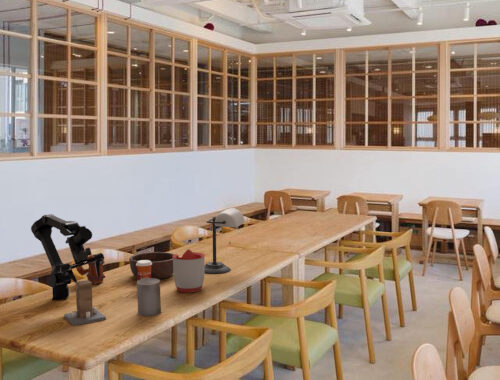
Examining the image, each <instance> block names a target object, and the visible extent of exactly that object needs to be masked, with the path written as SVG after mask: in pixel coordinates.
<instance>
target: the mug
mask: <svg viewBox="0 0 500 380" xmlns="http://www.w3.org/2000/svg"><path fill="white" fill-rule="evenodd" d="M96 254H97V253H95V254H92V255H89V256H88V259H90V258H93V256H94V255H96ZM104 264H105V260H104V261H102V263H101V264H100V265H99V279H98V276H97V273H96V268H95V262H92V263H89V264H87V265H88V268H84V267H83V266H79V267H76V268H75V269H76V271H77V272H78V274H79V275H81V276H85V275H86V277H87V280H88V281H90V282H91V283H92V285H93V284H95V285H96V284H101V283H102V282H104V279H105V278H106V275H105V274H104V266H103V265H104ZM78 265H80V264H78Z"/></svg>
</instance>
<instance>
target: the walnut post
mask: <svg viewBox="0 0 500 380" xmlns="http://www.w3.org/2000/svg"><path fill="white" fill-rule="evenodd" d="M75 300H76V312H77V315H78V316H79V317H80V318H85V317H86V312H90V316H93V307H94V306H93V283H91V282H90V281H88V279H84V280H80V281H78V280H77V282H76V283H75Z"/></svg>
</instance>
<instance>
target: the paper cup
mask: <svg viewBox="0 0 500 380" xmlns="http://www.w3.org/2000/svg"><path fill="white" fill-rule="evenodd" d="M136 265H137V276H138V278H137V281H138V280H141V279H146V278H151V265H152V262H151V261H149V260H140V261H137V264H136Z"/></svg>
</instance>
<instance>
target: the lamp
mask: <svg viewBox="0 0 500 380" xmlns="http://www.w3.org/2000/svg"><path fill="white" fill-rule="evenodd" d="M245 222H246V220H245V218H244V215H243V213H242V212H241V211H240V210H238V209H237V208H236V207H235V208H234V207H230V208H227V209H225V210H223V211H221V212H219V213H218V214H217V215H216V216H213V217H211V218H210V219H208V220H206V223H207V224H212V226H211V227H212V229H211V230H212V261H210V262H206V263H204V266H205V274H204V275H220V274H221V275H222V274H226V273H229V272H231V271H232V269H231V268H230V266H228V265H226V264H224V263H223V262H221V261H217V227H223V228H224V227H225V228H229V232H231V228H238V227H240V226H241V225H242V224H244V223H245ZM231 243H232V242H231V241H228V244H229V245H230V244H231Z"/></svg>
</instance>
